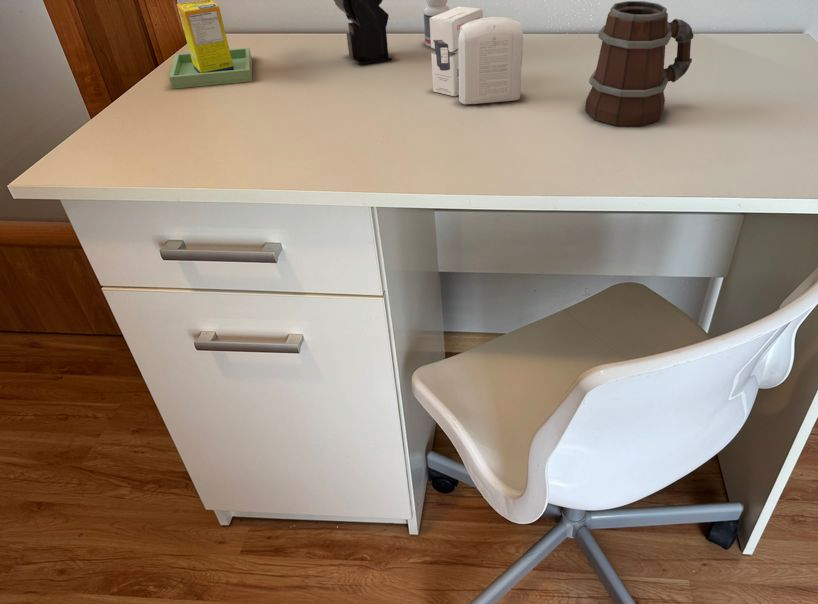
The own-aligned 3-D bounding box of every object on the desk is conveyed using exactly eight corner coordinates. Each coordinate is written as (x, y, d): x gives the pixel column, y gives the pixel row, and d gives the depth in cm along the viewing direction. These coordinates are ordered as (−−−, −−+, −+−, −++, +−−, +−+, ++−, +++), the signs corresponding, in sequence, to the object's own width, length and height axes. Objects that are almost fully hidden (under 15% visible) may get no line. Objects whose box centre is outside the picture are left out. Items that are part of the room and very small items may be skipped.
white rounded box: (516, 92, 112) (519, 11, 104) (524, 101, 109) (527, 19, 101) (456, 98, 110) (454, 17, 102) (462, 107, 107) (460, 24, 99)
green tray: (251, 58, 128) (249, 47, 127) (251, 81, 118) (249, 69, 117) (178, 65, 126) (175, 53, 125) (172, 89, 116) (169, 77, 115)
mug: (605, 131, 99) (618, 21, 89) (574, 102, 108) (584, 0, 98) (701, 119, 102) (724, 12, 92) (663, 92, 111) (681, -8, 101)
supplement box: (225, 62, 125) (209, -2, 118) (235, 71, 121) (219, 5, 114) (193, 68, 122) (175, 3, 115) (201, 77, 119) (184, 10, 111)
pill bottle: (448, 48, 131) (446, -2, 125) (422, 47, 132) (419, -3, 126) (454, 40, 135) (452, -9, 129) (428, 39, 136) (426, -9, 130)
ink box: (460, 77, 118) (458, 4, 110) (483, 82, 116) (484, 8, 108) (431, 92, 113) (428, 16, 105) (455, 97, 111) (454, 20, 103)
